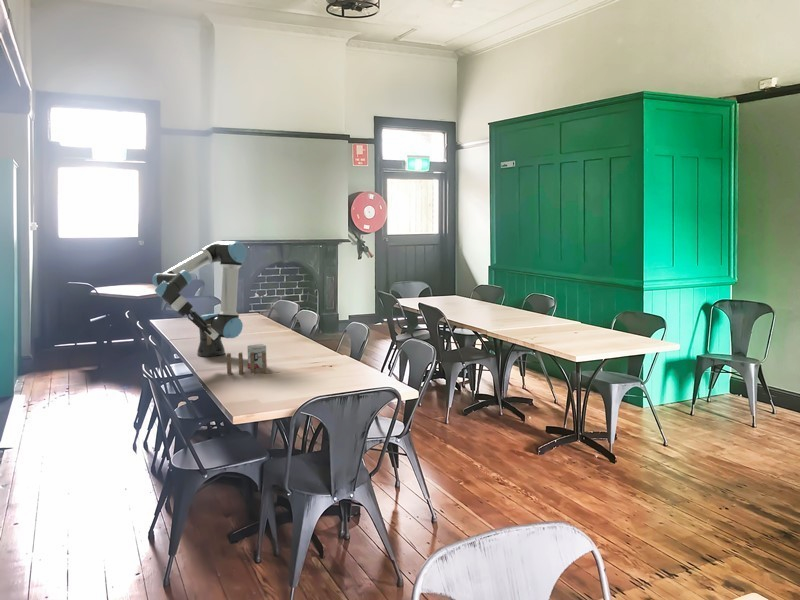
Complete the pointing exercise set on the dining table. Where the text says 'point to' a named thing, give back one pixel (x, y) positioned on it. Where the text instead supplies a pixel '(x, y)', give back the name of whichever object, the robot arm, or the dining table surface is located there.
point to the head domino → (208, 335)
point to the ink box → (256, 355)
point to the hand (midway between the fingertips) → (216, 337)
